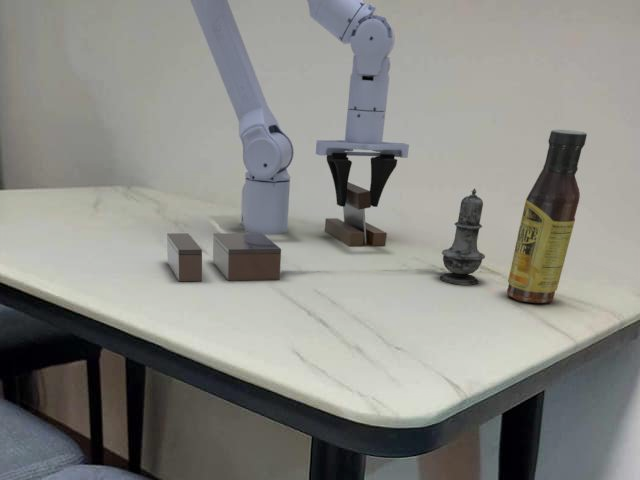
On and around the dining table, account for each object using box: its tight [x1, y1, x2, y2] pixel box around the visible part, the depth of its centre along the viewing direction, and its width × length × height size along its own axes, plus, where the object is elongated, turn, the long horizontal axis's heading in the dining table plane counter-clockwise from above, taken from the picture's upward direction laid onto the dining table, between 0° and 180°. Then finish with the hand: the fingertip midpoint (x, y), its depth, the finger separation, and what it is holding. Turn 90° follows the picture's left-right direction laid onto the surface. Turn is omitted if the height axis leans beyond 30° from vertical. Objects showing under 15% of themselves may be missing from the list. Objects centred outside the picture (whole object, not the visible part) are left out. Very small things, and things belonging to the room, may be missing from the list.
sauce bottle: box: [506, 128, 588, 304], centre depth 90 cm, size 6×6×20 cm
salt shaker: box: [439, 188, 486, 286], centre depth 99 cm, size 6×6×12 cm
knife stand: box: [324, 217, 388, 248], centre depth 118 cm, size 12×6×3 cm, turn 16°
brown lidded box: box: [212, 232, 282, 282], centre depth 99 cm, size 10×7×4 cm
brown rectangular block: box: [166, 232, 203, 282], centre depth 97 cm, size 10×3×4 cm, turn 16°
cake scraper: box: [342, 181, 372, 244], centre depth 116 cm, size 10×2×8 cm, turn 16°
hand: (357, 205), depth 116 cm, fingers open, 5 cm apart
